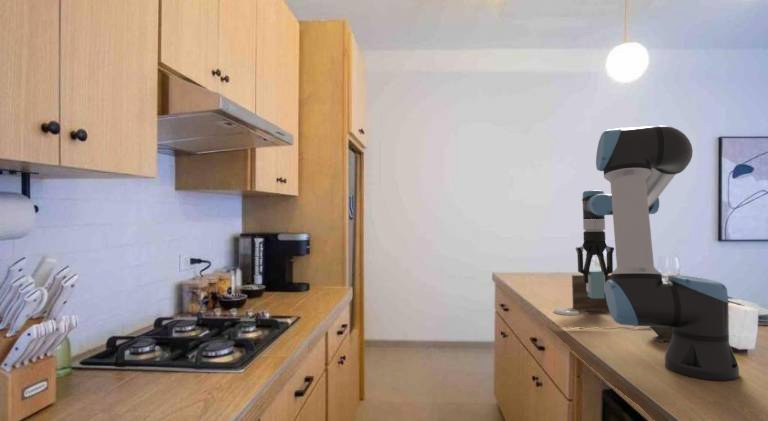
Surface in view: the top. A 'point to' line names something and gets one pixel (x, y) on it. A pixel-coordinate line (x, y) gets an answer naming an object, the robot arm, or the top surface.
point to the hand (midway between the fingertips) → (595, 291)
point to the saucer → (566, 311)
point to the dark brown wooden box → (586, 297)
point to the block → (596, 284)
